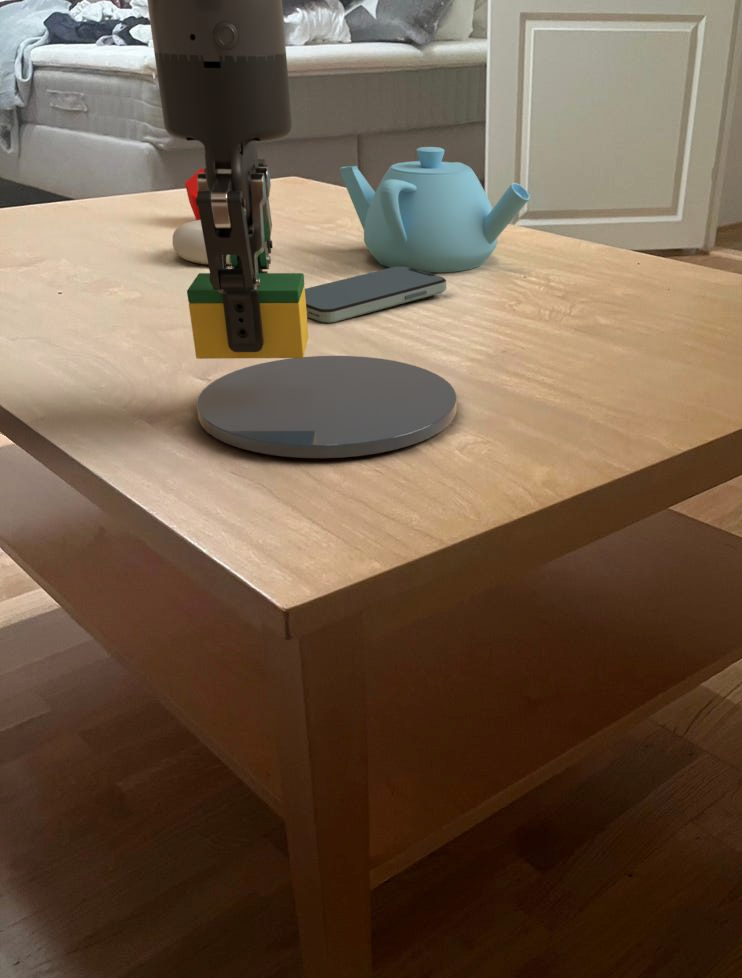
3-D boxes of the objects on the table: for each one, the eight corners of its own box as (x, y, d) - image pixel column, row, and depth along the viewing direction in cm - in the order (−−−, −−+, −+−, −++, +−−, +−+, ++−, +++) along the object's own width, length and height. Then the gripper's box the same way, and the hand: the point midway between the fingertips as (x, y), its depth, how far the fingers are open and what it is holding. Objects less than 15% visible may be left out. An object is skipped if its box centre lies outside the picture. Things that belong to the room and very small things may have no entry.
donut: (287, 256, 111) (219, 242, 115) (285, 223, 109) (216, 210, 113) (224, 274, 104) (153, 259, 108) (220, 239, 102) (149, 225, 106)
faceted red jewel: (256, 179, 120) (217, 146, 123) (207, 196, 117) (169, 162, 119) (259, 230, 126) (221, 197, 128) (212, 248, 122) (175, 214, 125)
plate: (177, 464, 63) (174, 446, 62) (218, 370, 78) (216, 355, 77) (464, 461, 64) (464, 444, 63) (450, 370, 79) (450, 355, 78)
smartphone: (275, 293, 92) (400, 263, 101) (278, 312, 93) (401, 280, 102) (325, 311, 88) (451, 277, 97) (327, 330, 89) (451, 295, 97)
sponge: (196, 359, 66) (186, 290, 63) (207, 338, 70) (198, 272, 67) (303, 358, 66) (298, 290, 64) (308, 338, 70) (303, 272, 68)
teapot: (394, 285, 101) (391, 162, 95) (340, 249, 114) (335, 140, 108) (530, 272, 106) (536, 156, 100) (464, 240, 119) (466, 135, 113)
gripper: (177, 39, 64) (211, 310, 73) (126, 51, 52) (175, 373, 61) (295, 41, 65) (314, 309, 74) (273, 53, 53) (299, 372, 62)
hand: (251, 337), depth 67 cm, fingers closed on sponge, 4 cm apart
